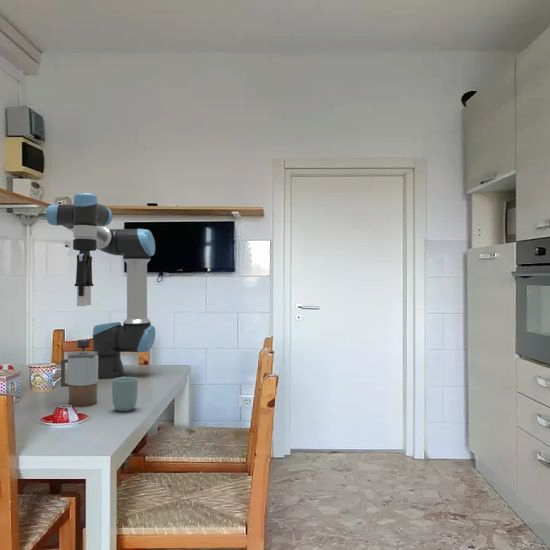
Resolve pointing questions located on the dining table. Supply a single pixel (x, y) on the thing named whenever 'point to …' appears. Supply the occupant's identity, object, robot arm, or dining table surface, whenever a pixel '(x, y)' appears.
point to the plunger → (83, 344)
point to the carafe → (81, 378)
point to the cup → (124, 393)
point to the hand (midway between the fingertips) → (84, 305)
